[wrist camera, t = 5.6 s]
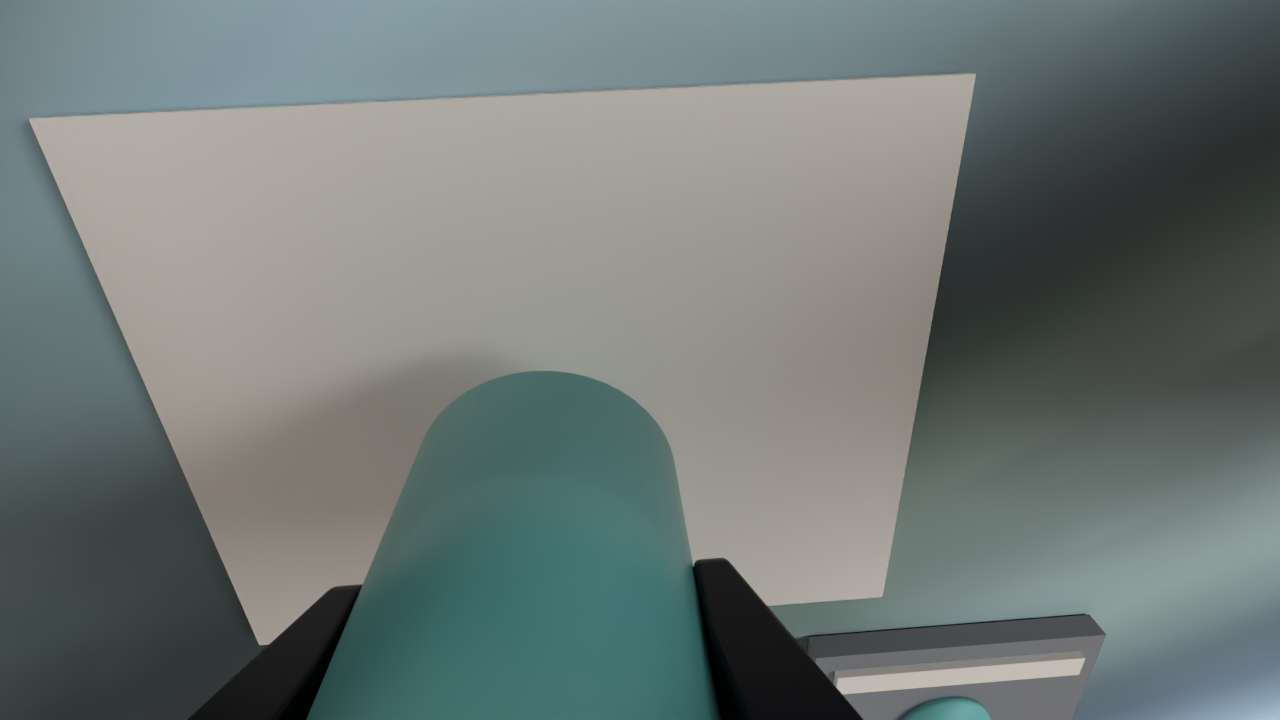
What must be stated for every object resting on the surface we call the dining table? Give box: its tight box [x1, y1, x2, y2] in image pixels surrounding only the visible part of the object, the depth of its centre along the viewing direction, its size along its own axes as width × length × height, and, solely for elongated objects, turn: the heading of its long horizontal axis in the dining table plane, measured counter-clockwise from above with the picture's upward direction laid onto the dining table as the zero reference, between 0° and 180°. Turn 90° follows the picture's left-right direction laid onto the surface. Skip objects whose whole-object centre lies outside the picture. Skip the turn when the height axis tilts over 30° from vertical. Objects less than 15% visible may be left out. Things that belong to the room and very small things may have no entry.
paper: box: [28, 73, 976, 645], centre depth 12 cm, size 14×11×1 cm
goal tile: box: [807, 615, 1106, 720], centre depth 17 cm, size 7×6×1 cm
